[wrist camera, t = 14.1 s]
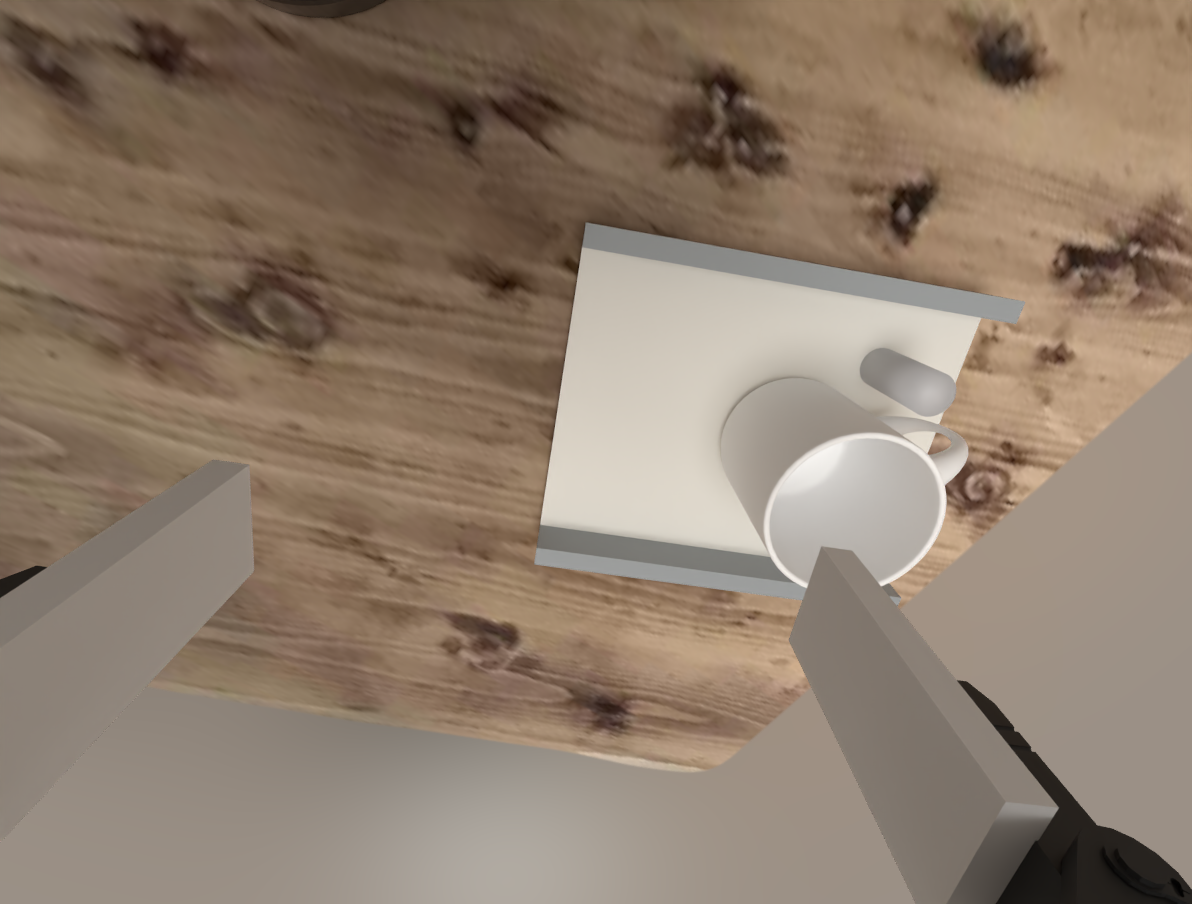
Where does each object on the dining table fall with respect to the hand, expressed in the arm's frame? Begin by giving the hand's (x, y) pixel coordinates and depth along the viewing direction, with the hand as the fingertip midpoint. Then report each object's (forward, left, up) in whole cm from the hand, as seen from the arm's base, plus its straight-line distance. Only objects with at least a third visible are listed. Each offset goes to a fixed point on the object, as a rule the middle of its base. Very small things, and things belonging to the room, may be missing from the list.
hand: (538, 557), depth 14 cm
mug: (+3, +16, -24) cm, 29 cm away
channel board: (+3, +12, -25) cm, 28 cm away
